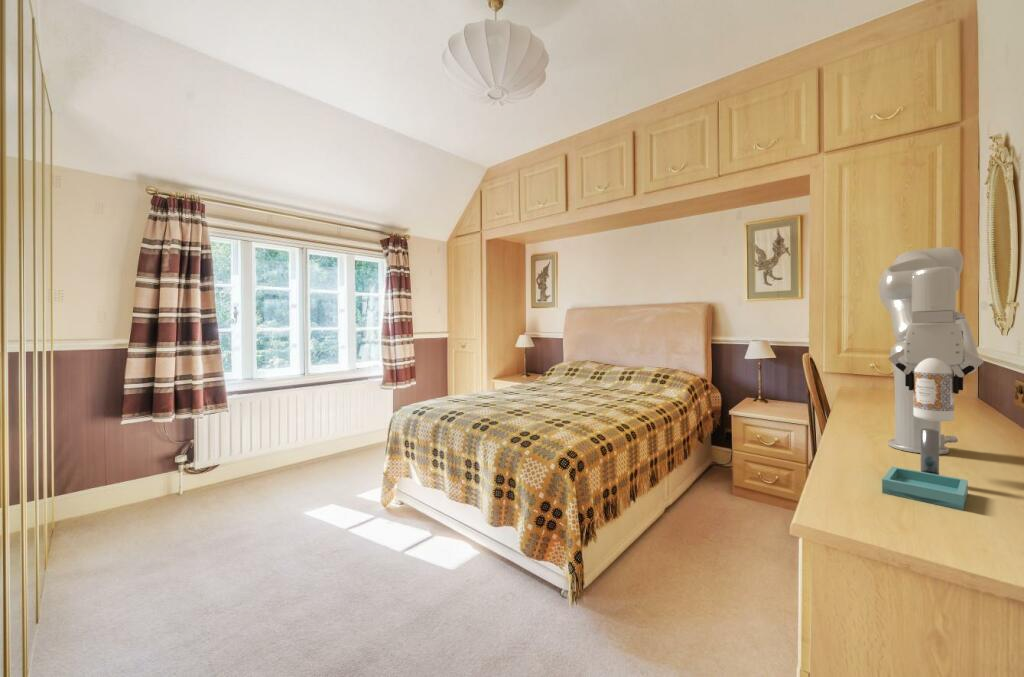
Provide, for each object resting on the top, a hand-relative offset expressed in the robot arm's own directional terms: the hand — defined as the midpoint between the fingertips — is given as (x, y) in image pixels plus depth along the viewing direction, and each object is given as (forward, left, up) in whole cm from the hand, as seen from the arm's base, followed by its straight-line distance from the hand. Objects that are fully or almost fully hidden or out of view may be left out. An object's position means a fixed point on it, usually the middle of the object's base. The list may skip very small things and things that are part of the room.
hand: (933, 390), depth 100 cm
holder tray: (+14, +12, -20) cm, 27 cm away
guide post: (+6, +6, -20) cm, 22 cm away
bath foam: (0, 0, -7) cm, 7 cm away
